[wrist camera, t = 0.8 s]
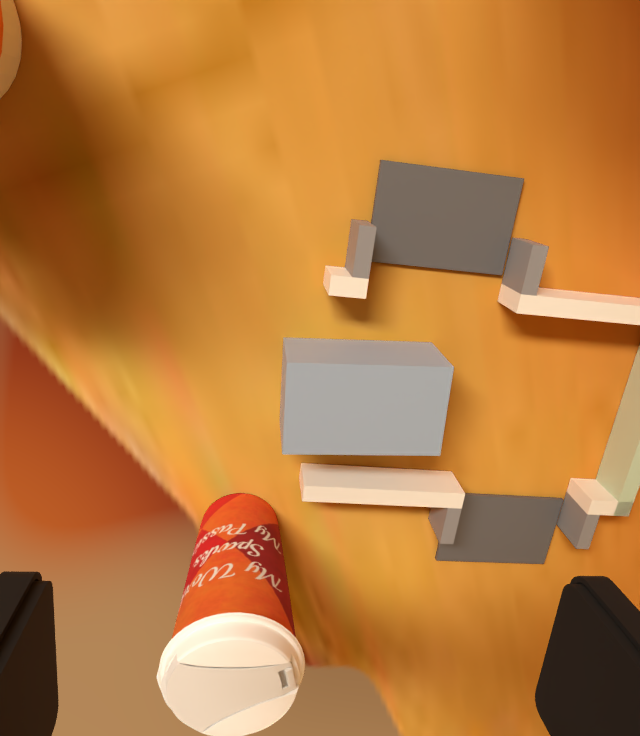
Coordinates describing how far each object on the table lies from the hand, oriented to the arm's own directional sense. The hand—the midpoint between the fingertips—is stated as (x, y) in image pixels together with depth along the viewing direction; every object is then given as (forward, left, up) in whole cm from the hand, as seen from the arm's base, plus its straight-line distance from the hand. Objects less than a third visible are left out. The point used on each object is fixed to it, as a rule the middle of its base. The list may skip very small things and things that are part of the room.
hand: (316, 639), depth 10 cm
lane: (+6, +15, -28) cm, 32 cm away
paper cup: (+18, -1, -28) cm, 33 cm away
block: (+6, +6, -28) cm, 30 cm away
